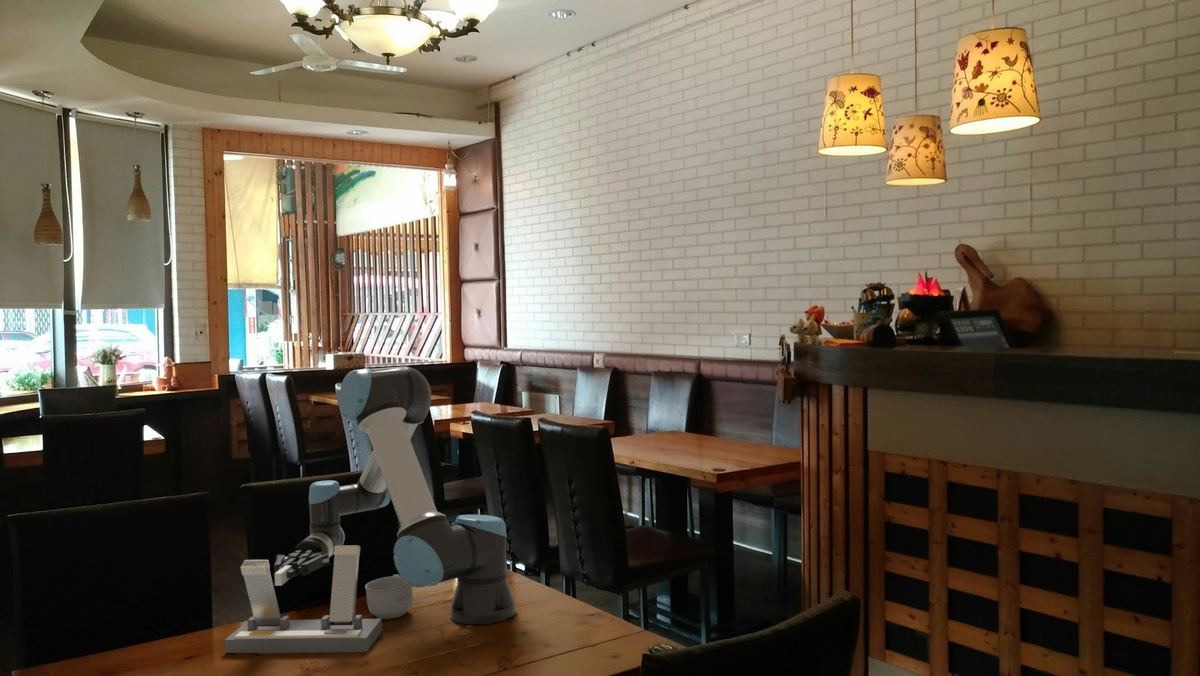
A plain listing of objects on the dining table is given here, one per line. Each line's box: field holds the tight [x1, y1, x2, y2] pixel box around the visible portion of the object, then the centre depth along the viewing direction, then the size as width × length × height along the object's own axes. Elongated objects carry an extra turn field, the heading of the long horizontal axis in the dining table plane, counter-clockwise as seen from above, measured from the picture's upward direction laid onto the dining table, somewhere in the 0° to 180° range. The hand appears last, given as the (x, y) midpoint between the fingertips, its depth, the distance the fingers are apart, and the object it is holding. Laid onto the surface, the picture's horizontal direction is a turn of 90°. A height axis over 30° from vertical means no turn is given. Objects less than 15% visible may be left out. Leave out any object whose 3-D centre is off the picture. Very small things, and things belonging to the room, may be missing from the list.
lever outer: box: [240, 559, 282, 627], centre depth 190 cm, size 5×2×17 cm, turn 89°
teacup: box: [364, 573, 414, 620], centre depth 212 cm, size 14×11×8 cm
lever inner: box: [329, 544, 361, 626], centre depth 195 cm, size 5×2×17 cm, turn 89°
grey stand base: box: [224, 614, 383, 654], centre depth 193 cm, size 30×12×6 cm, turn 89°
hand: (278, 579), depth 199 cm, fingers closed
